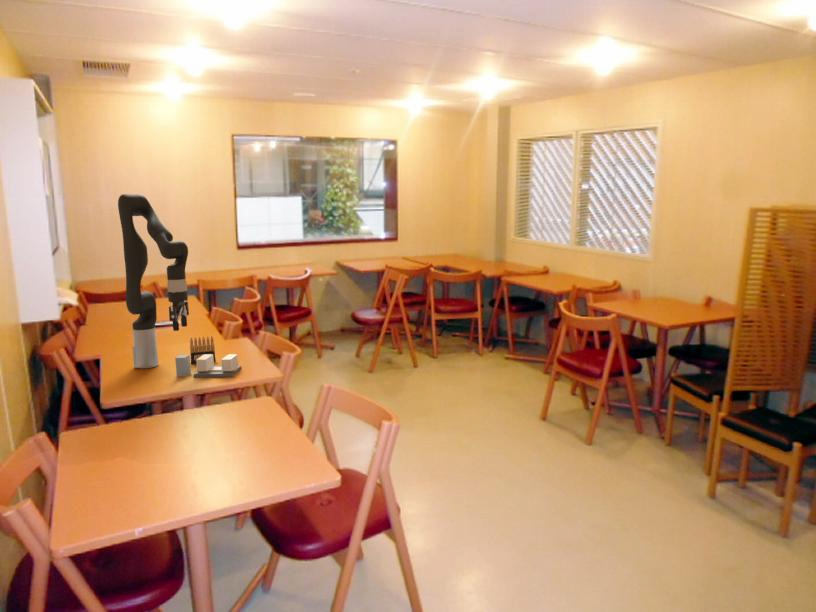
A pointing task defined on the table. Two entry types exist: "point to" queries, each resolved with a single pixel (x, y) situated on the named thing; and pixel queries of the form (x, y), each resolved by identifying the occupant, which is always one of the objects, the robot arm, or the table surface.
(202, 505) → the table surface
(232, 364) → the mounted modules
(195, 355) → the ammunition clip
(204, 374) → the mounting plate
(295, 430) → the table surface
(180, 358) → the module block
